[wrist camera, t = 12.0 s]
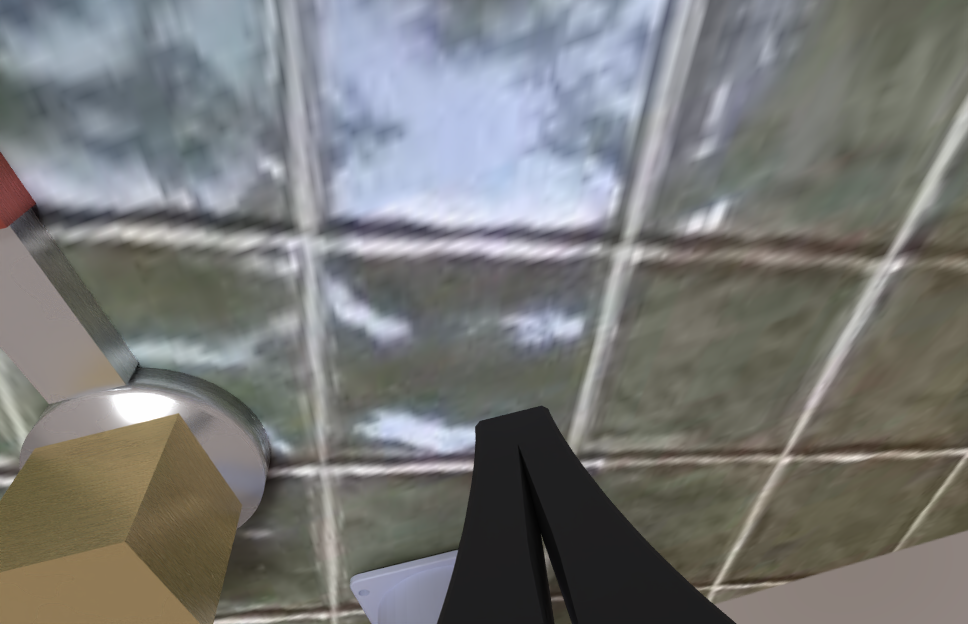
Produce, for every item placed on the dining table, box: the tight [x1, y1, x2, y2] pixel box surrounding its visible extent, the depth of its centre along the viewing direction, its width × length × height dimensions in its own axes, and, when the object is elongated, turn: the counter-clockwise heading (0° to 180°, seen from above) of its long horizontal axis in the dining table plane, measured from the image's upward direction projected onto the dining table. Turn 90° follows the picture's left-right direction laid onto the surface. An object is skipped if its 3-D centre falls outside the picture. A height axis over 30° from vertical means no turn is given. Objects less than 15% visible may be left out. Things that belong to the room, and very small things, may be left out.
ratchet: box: [0, 152, 271, 528], centre depth 17 cm, size 22×8×4 cm, turn 12°
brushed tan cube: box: [0, 413, 242, 624], centre depth 20 cm, size 5×5×5 cm
